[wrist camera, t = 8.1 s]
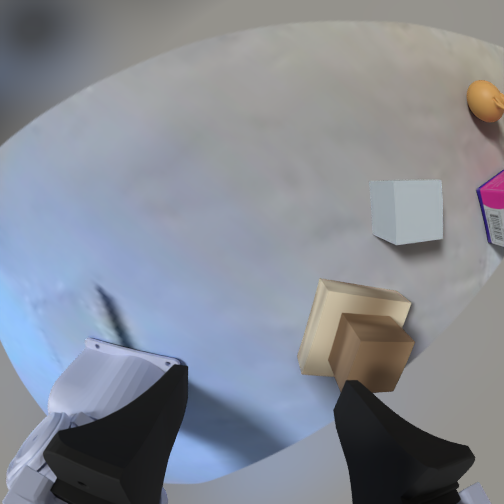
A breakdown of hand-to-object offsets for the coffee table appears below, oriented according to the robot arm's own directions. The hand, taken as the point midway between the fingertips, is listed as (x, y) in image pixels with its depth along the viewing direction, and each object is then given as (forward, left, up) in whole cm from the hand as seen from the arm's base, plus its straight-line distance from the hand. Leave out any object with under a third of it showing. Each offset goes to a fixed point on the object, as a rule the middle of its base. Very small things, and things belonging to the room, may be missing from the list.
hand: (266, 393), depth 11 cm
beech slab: (+7, -1, -10) cm, 13 cm away
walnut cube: (+7, -1, -7) cm, 10 cm away
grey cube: (+9, +9, -10) cm, 16 cm away
